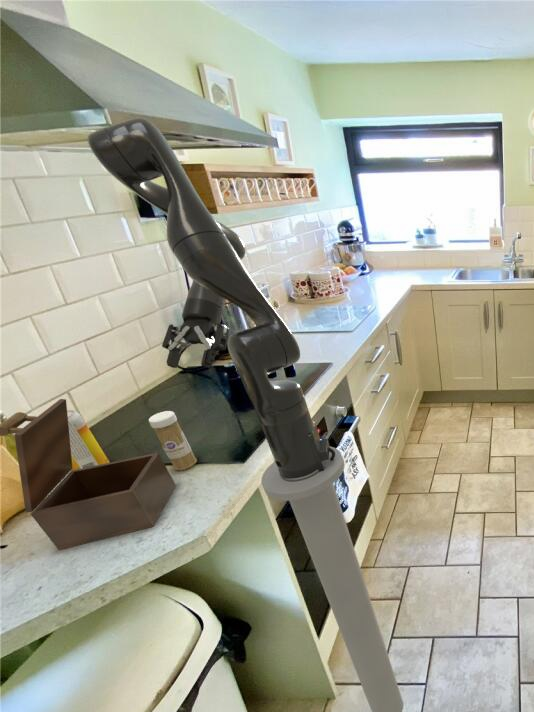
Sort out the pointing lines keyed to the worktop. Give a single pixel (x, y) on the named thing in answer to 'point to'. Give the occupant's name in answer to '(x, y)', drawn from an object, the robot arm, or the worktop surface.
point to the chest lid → (41, 451)
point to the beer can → (83, 444)
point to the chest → (105, 501)
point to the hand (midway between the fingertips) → (188, 366)
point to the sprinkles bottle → (173, 440)
